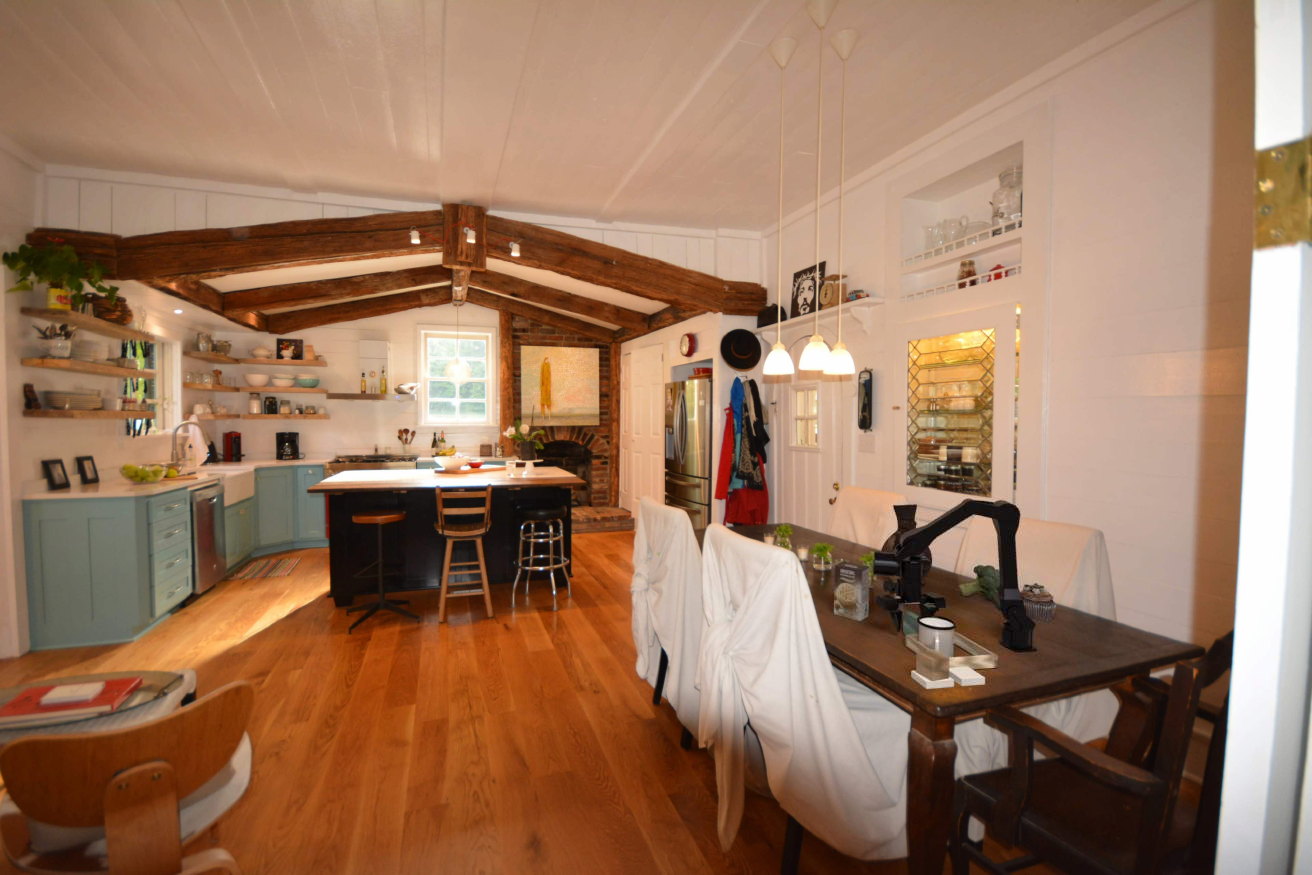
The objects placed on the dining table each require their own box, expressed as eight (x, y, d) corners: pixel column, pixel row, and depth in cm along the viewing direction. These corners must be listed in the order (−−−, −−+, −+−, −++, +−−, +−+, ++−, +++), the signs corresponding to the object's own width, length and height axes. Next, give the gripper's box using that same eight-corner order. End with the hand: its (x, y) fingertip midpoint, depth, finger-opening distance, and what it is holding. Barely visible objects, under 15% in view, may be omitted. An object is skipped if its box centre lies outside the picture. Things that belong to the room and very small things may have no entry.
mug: (916, 645, 159) (916, 612, 159) (954, 650, 155) (955, 617, 155) (916, 662, 148) (916, 627, 148) (957, 669, 144) (958, 633, 144)
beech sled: (936, 630, 169) (936, 609, 169) (997, 667, 145) (997, 642, 144) (888, 633, 167) (888, 611, 166) (942, 671, 143) (942, 645, 142)
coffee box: (832, 614, 183) (833, 564, 183) (841, 609, 188) (842, 560, 187) (860, 621, 177) (861, 569, 176) (869, 616, 182) (870, 565, 181)
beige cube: (932, 669, 141) (933, 649, 141) (949, 678, 136) (949, 657, 136) (916, 672, 139) (916, 651, 139) (932, 681, 135) (932, 660, 134)
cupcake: (1043, 624, 175) (1044, 591, 174) (1012, 613, 184) (1013, 582, 183) (1063, 619, 179) (1064, 587, 178) (1031, 609, 188) (1032, 578, 187)
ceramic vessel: (920, 595, 202) (922, 510, 201) (871, 585, 214) (872, 504, 212) (939, 582, 217) (941, 502, 216) (892, 573, 229) (893, 498, 228)
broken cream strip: (967, 672, 142) (967, 666, 142) (984, 684, 137) (985, 677, 136) (911, 677, 140) (911, 670, 140) (926, 688, 134) (926, 682, 134)
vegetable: (958, 582, 210) (1002, 568, 204) (973, 615, 201) (1019, 601, 195) (949, 568, 202) (993, 553, 196) (963, 602, 194) (1011, 587, 188)
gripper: (924, 568, 174) (923, 619, 175) (866, 570, 171) (865, 622, 172) (948, 578, 163) (946, 633, 164) (886, 581, 160) (885, 637, 161)
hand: (910, 630), depth 165 cm, fingers open, 7 cm apart
